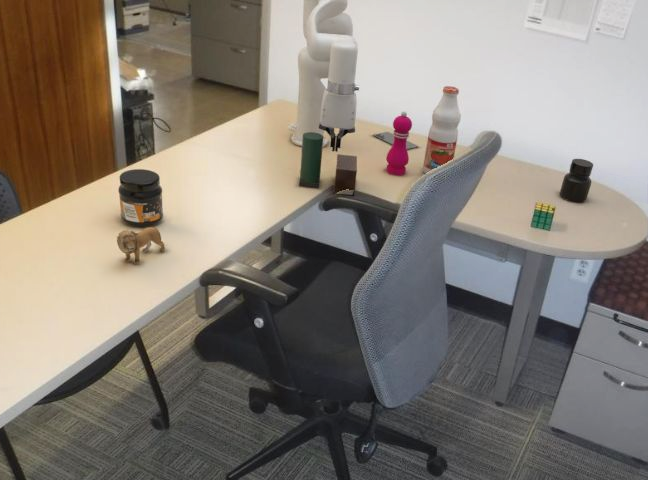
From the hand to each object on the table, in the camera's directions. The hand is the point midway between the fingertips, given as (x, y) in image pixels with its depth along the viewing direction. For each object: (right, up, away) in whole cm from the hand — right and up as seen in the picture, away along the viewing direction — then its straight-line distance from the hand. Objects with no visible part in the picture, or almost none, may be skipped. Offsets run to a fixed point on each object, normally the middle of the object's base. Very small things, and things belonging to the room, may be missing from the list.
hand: (334, 149), depth 213 cm
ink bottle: (+77, -10, +22) cm, 80 cm away
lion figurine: (-43, -36, -43) cm, 71 cm away
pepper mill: (+19, -2, +22) cm, 29 cm away
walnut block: (+2, -10, +7) cm, 12 cm away
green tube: (-4, -9, +6) cm, 11 cm away
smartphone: (+19, +14, +47) cm, 52 cm away
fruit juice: (+32, -2, +26) cm, 41 cm away
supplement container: (-48, -25, -27) cm, 61 cm away
